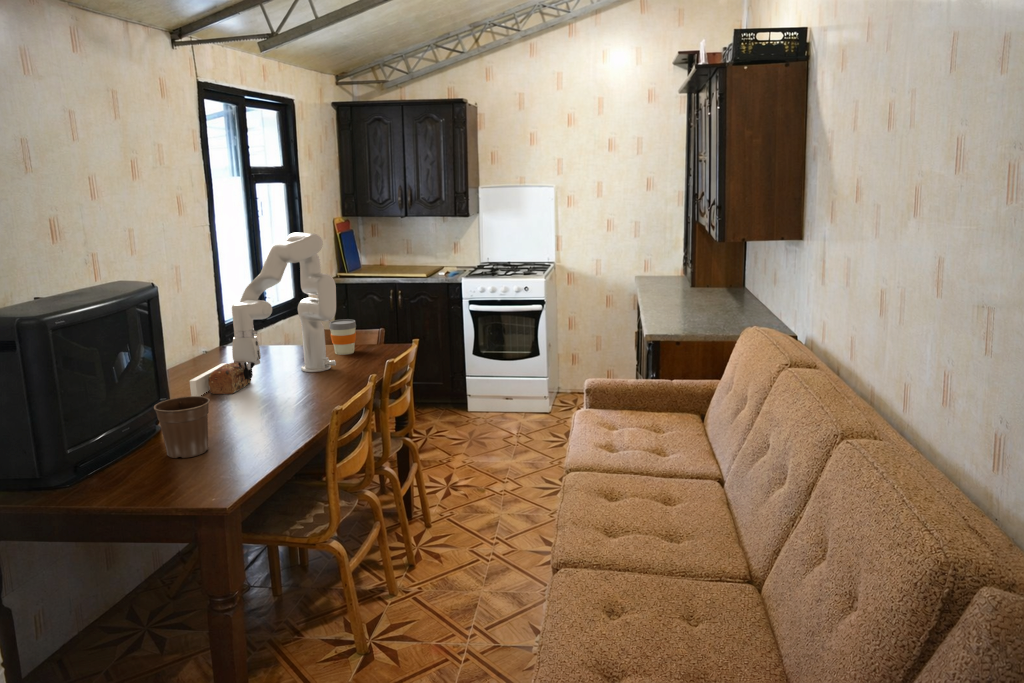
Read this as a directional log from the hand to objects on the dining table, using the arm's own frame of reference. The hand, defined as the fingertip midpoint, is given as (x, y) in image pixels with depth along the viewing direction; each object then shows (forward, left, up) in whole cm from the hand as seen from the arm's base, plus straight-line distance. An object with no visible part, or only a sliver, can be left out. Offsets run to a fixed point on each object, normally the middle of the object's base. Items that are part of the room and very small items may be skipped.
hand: (248, 378), depth 327 cm
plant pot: (-12, +74, -4) cm, 75 cm away
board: (+16, 0, -4) cm, 17 cm away
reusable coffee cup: (-20, -64, -4) cm, 67 cm away
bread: (+8, 0, -4) cm, 9 cm away
